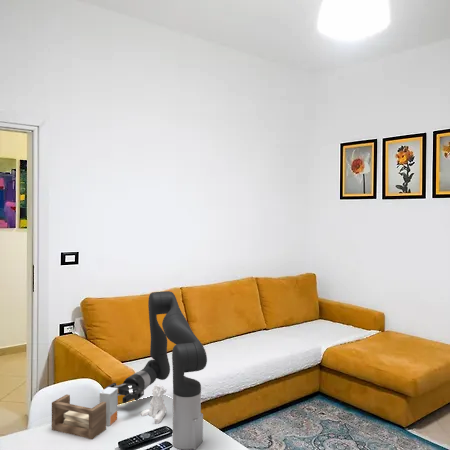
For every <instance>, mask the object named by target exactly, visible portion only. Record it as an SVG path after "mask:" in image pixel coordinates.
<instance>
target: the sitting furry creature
mask: <svg viewBox="0 0 450 450" xmlns="http://www.w3.org/2000/svg"><path fill="white" fill-rule="evenodd" d="M166 392H167V389H165V388H164V386H163V385H160V384H155V385H154V387H153V388H152V398H151V400H150V401H149V404H150V408H147V409H144V410H142V411H141V412H139V415H141V417H145V416H149V417H152V418H154V424H155V425H156V424H157V425H158V424H160V423H161V421H162V420H163V418H164V417H165V415H166V412H167V407H166V404H165V403H164V401H165V400H164V398H163V396H164V394H165V393H166Z"/></svg>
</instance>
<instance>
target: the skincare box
mask: <svg viewBox="0 0 450 450" xmlns="http://www.w3.org/2000/svg"><path fill="white" fill-rule="evenodd" d="M106 387H107V386H106ZM118 396H119V395H118V388H112V387H107V388H106V389H105V388H104V389H103V390H102V391H100V392H99V403H101V402H106V427H111V426H112V425H113V424H114V423H115V422H116V421H117V420H118V406H119V404H118V399H119V398H118Z"/></svg>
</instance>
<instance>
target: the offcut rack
mask: <svg viewBox="0 0 450 450" xmlns="http://www.w3.org/2000/svg"><path fill="white" fill-rule="evenodd" d="M68 411H74V412H79V413H83V414H88V415H89V430H88V429H83V428H79V427H74V426H70V425H65V424H63V423H64V420H65V418H64V413H66V412H68ZM106 430H107V426H106V402H101V403H100V402H99V403H98V404H97V405H94V406H93V407H87V406H81V405H77V404H72V403H71V394H64V395H63V396H62V397H61V396H60V397H59V398H57V399H55V400H53V401H52V402H51V431H56V432H58V433H59V432H60V433H63V434H69V435H74V436H78V437H80V438H85V439H89V440H94V439H95V438H96V437H98V436H99V435H100V434H102V433H103V432H105V431H106Z"/></svg>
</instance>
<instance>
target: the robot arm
mask: <svg viewBox="0 0 450 450" xmlns="http://www.w3.org/2000/svg"><path fill="white" fill-rule="evenodd" d="M147 305H148V319H149V322H148V323H149V331H150V350H149V354H150V355H149V356H150V357H151V359H150V360H148V361H147V363H146V364H145V366H144V367H142V369H141V370H140V371H139V370H138V371H137V372H134V373H133V374H131V375H129V376H128V377H127V378H125V379H124V381H123V383H121V384H119V385H118V384H117V383H116V382H113V383H111V384H109V385H107V386H105V388H104V389H106V388H107V387H112V388H118V396H123V397H122V403H123V404H126V403H128V402H129V401H133V400H134V401H138V400H139V399H140V398H141V397H143V396H144V395H145V390H146V389H147V388H148V387H149V386H151V385H153V384H154V383H155V381H156V380H160V381H165V380H166V379H167V378H168V377H169V376H170V374H171V373H170V372H171V366H172V445H173V447H175V448H176V449H179V450H197V448H198V447H199V446H200V445H201V444H202V443H203V438H204V433H203V431H204V430H203V429H204V427H203V426H204V414H203V413H202V412H201V411H202V407H201V406H202V405H201V403H202V400H201V399H202V385H201V383H200V382H199V380H197V379H195V378H191V377H188V376H186V375H185V373H193V372H199V371H202V370H204V369H205V368H206V367H207V363H208V357H207V351H206V349H205V347H204V345H203V344H202V342H201V340H199V338H198V336H197V335H195V333H194V332H193V330H192V328H191V326H190V324H189V323H188V320H187V318H186V317H185V315H184V314H183V311H182V310H181V308H180V305H179V302H178V300H177V297H176V295H175V294H174V292H173V291H170V290H169V291H168V290H165V291H153V292H150V294H149V295H148V304H147ZM159 315H164V318H163V319H162V322H161V325H160V324H159V321H158V316H159ZM161 326H162V327H161ZM168 340H169V341H170V342H171V343H173V344H174V345H173V348H172V352H171V359H172V361H171V362H172V363H171V364H172V365H171V364H170V362H169V358H168ZM170 365H171V366H170Z"/></svg>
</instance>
